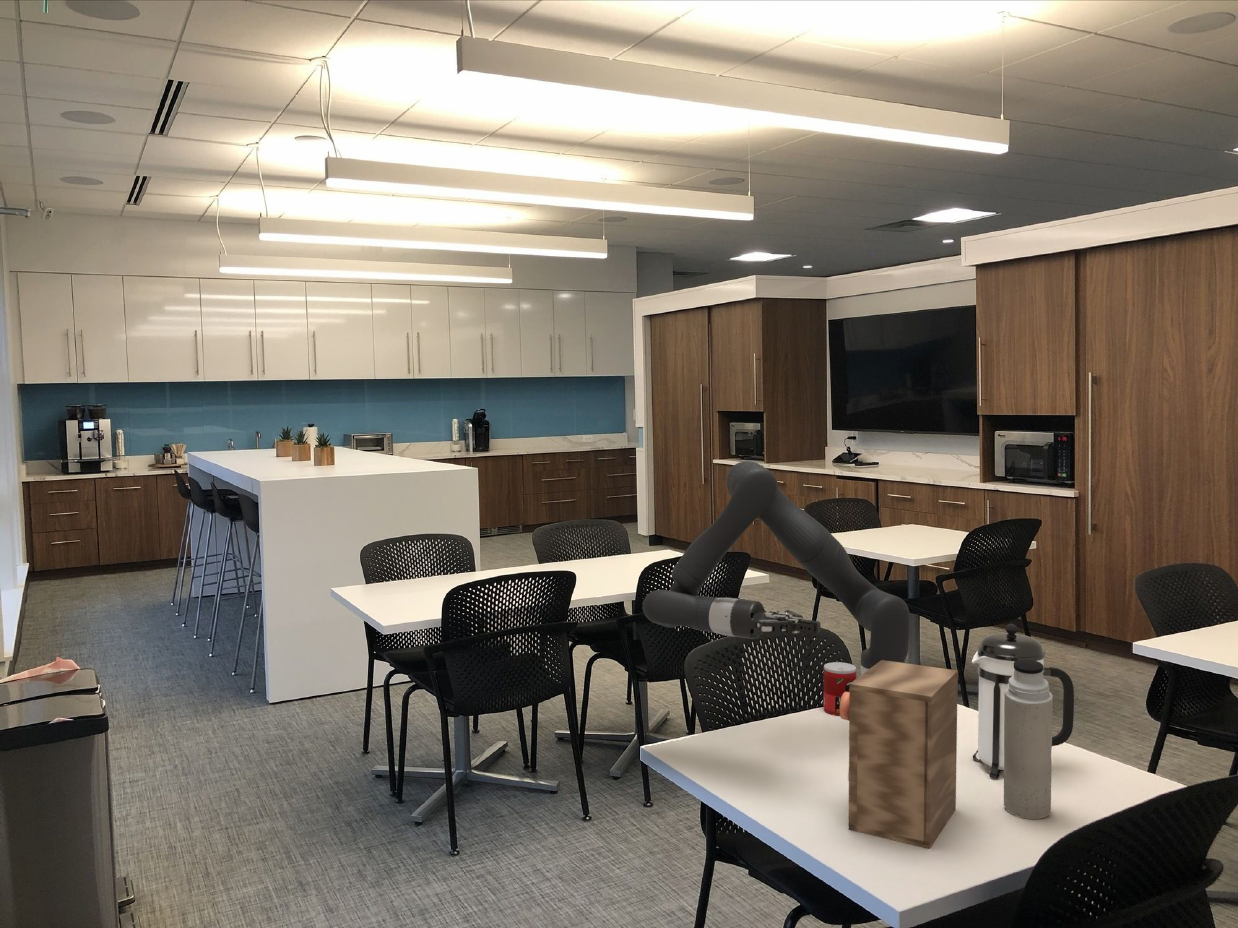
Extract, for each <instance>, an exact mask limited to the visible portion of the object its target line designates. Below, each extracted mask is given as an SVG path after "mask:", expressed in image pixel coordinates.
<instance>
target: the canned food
mask: <svg viewBox="0 0 1238 928" xmlns="http://www.w3.org/2000/svg"><path fill="white" fill-rule="evenodd" d="M855 679H857V667H856V665H853V664H852V663H849V662H848V663H847V662H841V661H839V662H838V661H835V662H834V661H833V662H828V663H825V664H824V665H823V710H824V712H825V713H827V714H830V715H831V716H832V715H833V716H836V715H837V716H836V717H841V716H840V701H841V697H842V695H843V693H844V692H850V683H851V682H853V681H854V680H855Z"/></svg>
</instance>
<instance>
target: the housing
mask: <svg viewBox="0 0 1238 928" xmlns="http://www.w3.org/2000/svg"><path fill="white" fill-rule="evenodd" d="M958 676H959V671H958V670H956V669H950V668H942V667H935V666H929V665H920V664H912V663H906V662H905V663H900V662H893V661H885V660H881V661H880V662H878V663H877V664H876V665H874V666H873V667H872V668H870V669H869V670H868V671H866V672H865V673H864V674H862V675H861V674H860V675H859V676H858V677H856V679H855V680H854V681H853V682H851V683H850V695H849V720H848V721H849V722H848V727H849V729H848V735H849V736H848V749H849V750H848V769H849V781H848V830H850V831H852V832H853V831H854V832H859V833H863V834H867V835H871V836H875V837H879V838H884V839H886V840H887V839H888V840H893V841H896V842H900V843H904V844H908V845H912V846H917V847H922V848H926V849H930V848H931V847H932V845H933V844H934V842H935V841H936V840H937V838H938V837H939V835H940V834H941V832H942V831H943V829H944V828H945V827H946V825H947V823H948V822H949V821H950V819H951V817H952V816H953V814H954V813H955V812H956V810H957V808H956V807H957V803H956V802H957V797H956V796H957V754H958V753H957V752H958V751H957V746H958V743H957V742H958V735H957V734H958V686H959V685H958V684H959V683H958V682H959V681H958V679H959V677H958Z"/></svg>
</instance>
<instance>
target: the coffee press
mask: <svg viewBox="0 0 1238 928" xmlns="http://www.w3.org/2000/svg"><path fill="white" fill-rule="evenodd" d="M1005 631H1006V632H999V633H992V634H988V635H987V636H984V637H983V638H982V639H981V640H980V644H978V645H977V650H976V652H975V654H974V655H973V657H972V660H971V663H972V664H977V674H978V709H977V710H978V715H977V719H978V721H977V722H978V724H977V725H978V726H977V750H976V751H975V753H974V754H973V755H972V760H973V761H974V762H980V761H981V762H983V763H984V764H985V765H986V766H989V767H990V771H989V778H990V779H994V780H999V778H1000V775H1001V773H1002V772H1004V691H1005V689H1006V688H1007V687H1008V683H1009V678H1010V677H1012V676H1014V670H1015V669H1014V662H1015V661H1018V660H1034V661H1038V662H1040V663H1041V664H1043V678H1044V679H1045V677H1047V676H1048V677H1051V678H1052V677H1054V678H1057V679H1058V680H1060V682H1061V684H1062V688H1063V696H1062V697H1063V698H1062V699H1063V700H1062V701H1063V703H1062V704H1063V705H1062V727H1061V730H1060V731H1059V733H1057V734H1056V735H1054V736H1052V747H1055V746H1061V745H1062V744H1064V743H1066V742H1067V741H1068V740H1069V739H1070V737H1071V735H1072V733H1073V728H1074V718H1075V717H1074V715H1075V713H1074V712H1075V711H1074V710H1075V690H1074V684H1073V681H1072V678H1071V677H1070V676H1069V674H1068V673H1067V672H1066V671H1064V670H1063V669H1060V668H1058V667H1053V666H1049V667H1044V666H1045V665H1044V663H1045V662H1044V661H1045V659H1046V657H1047V652H1046V650H1045V649H1044V647H1043V645H1042V643H1041V642H1040V641H1038V640H1037V639H1036V638H1033V637H1031V636H1028V635H1025V634H1020V633H1019V634H1018V631H1019V629H1018V627H1017V625H1016V624H1014V623H1008V624H1007V625H1006V626H1005ZM977 755H978V756H977ZM977 757H978V758H977Z"/></svg>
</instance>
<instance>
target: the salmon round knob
mask: <svg viewBox="0 0 1238 928" xmlns="http://www.w3.org/2000/svg"><path fill="white" fill-rule="evenodd" d="M849 695H850V692H844V693H843V695H842V697H841V701H840V716H839V717H840V719H841V720H844V721H849Z"/></svg>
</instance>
